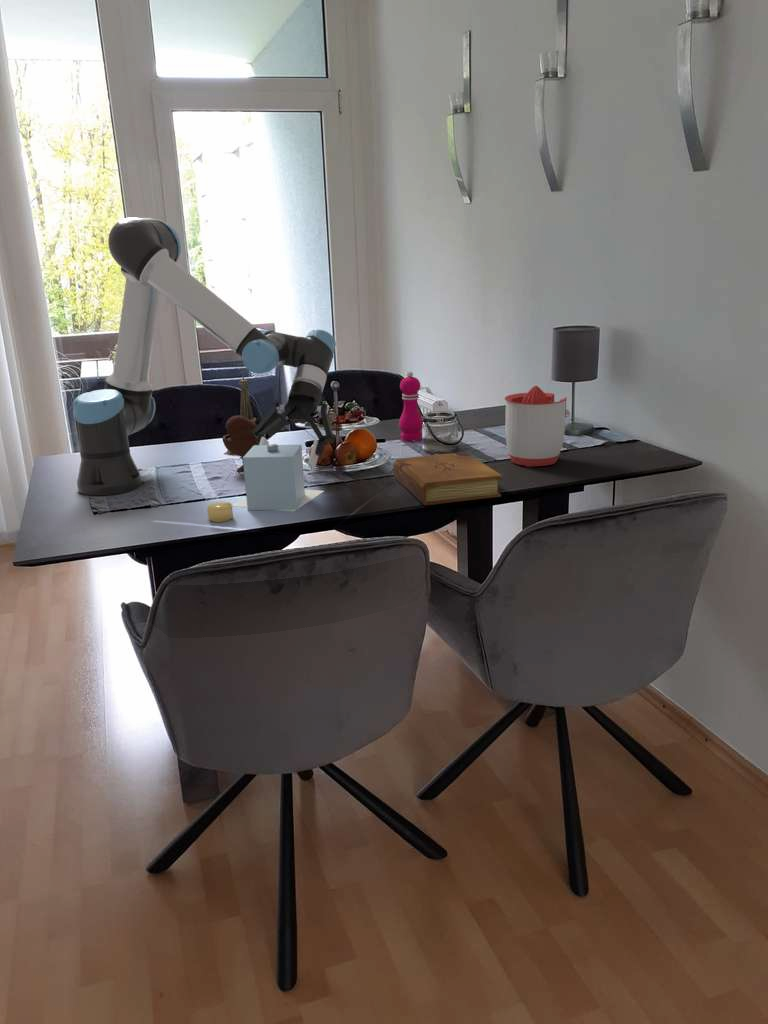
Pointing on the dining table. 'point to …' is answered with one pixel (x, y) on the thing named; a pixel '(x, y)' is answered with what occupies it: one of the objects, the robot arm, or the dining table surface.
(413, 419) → the pepper mill
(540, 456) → the citrus juicer
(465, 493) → the diary
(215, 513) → the yellow short cylinder
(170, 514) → the dining table surface
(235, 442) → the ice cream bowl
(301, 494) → the cover
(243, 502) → the mat
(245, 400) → the eiffel tower
